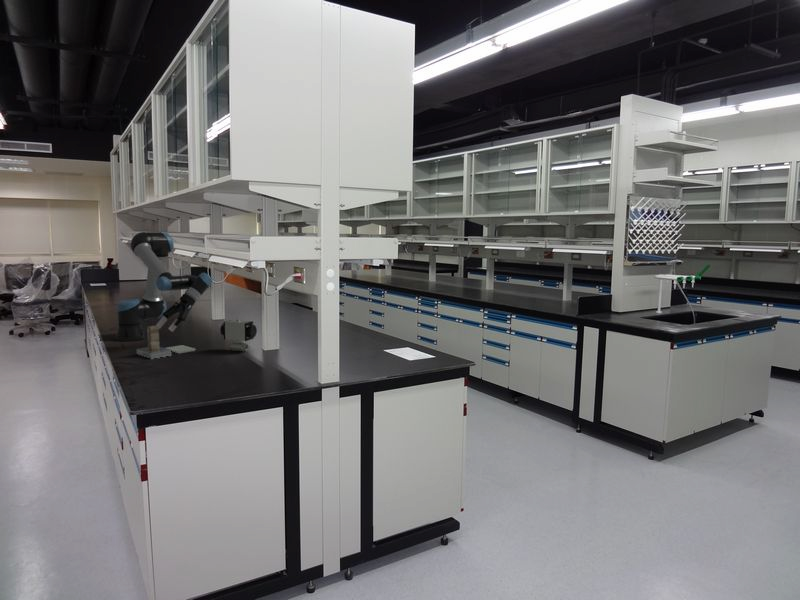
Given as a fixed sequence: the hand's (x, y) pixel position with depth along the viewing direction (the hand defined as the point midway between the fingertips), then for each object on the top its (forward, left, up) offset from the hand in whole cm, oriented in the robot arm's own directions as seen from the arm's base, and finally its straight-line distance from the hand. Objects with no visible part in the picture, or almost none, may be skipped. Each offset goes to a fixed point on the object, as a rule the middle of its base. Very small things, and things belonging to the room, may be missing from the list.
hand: (163, 328), depth 266 cm
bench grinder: (+21, +31, -14) cm, 40 cm away
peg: (-1, -5, -13) cm, 14 cm away
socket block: (-1, -5, -13) cm, 14 cm away
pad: (-3, +10, -13) cm, 17 cm away
